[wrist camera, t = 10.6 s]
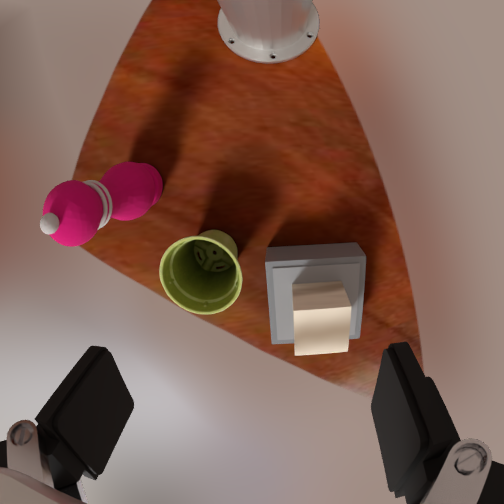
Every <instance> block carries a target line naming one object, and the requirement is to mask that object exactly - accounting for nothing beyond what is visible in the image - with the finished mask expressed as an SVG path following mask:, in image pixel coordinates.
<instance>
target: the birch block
mask: <svg viewBox="0 0 504 504" xmlns="http://www.w3.org/2000/svg"><path fill="white" fill-rule="evenodd" d="M292 298H293V321H294V343H295V356H296V355H312V354H325V353H337V352H347V351H348V343H349V332H350V320H351V304H350V301H349V299H348V296H347V294H346V291H345V289H344V286H343V284H342V281H333V282H319V283H305V284H292Z"/></svg>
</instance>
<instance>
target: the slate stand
mask: <svg viewBox="0 0 504 504" xmlns="http://www.w3.org/2000/svg"><path fill="white" fill-rule="evenodd" d="M265 266H266V278H267V290H268V302H269V314H270V327H271V339H272V344H286V343H294V321H293V298H292V284H305V283H319V282H333V281H342V284H343V286H344V289H345V291H346V294H347V296H348V299H349V301H350V304H351V320H350V332H349V339H355V338H359V337H360V329H361V320H362V310H363V299H364V286H365V270H366V255H365V253H364V252H363V251H362V249H361V248H360V246H359V245H358V244H357V242H352V243H334V244H317V245H300V246H283V247H267V252H266V259H265Z"/></svg>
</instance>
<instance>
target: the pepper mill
mask: <svg viewBox="0 0 504 504" xmlns="http://www.w3.org/2000/svg"><path fill="white" fill-rule="evenodd" d="M162 189H163V182H162V178H161V176H160V174H159V172H158V171H157V169H155V168H154V167H153V166H151V165H149V164H147V163H135V162H123V163H120V164H117V165H115V166H113V167H112V168H111V169H109V170H108V171H107V172H106V173H105V174H104V176H103V177H102V179H101V180H100V181H99V182H98V181H94V180H88V181H85V182H80V181H76V180H71V181H66V182H63V183H61V184H59V185H57V186H56V187H55V188H54V189H52V191H51V192H50V193H49V194H48V196H47V198H46V200H45V203H44V207H43V217H42V218H41V221H40V227H41V229H42V231H43V232H44V233H46V234H49V235H50V236H51V237H52V238H53V239H54V240H55V241H56V242H58V243H60V244H62V245H65V246H79V245H81V244H84V243H86V242H87V241H89V240H90V239H91V238H92V237H93V236H94V235H95V233H96V232H97V230H98V229H99V228H101V227H103V226H104V225H106V224H107V222H108V221H109V219H110V218H115V219H118V220H133V219H135V218H138V217H140V216H142V215H144V214H145V213H146V212H147V211H148V210H149V208H150V207H151V206H152V205H154V204H155V203H156V202H157V201H158V200H159V198H160V196H161V194H162Z"/></svg>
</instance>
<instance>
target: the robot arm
mask: <svg viewBox="0 0 504 504" xmlns="http://www.w3.org/2000/svg"><path fill="white" fill-rule="evenodd" d="M218 2H219V4H220V7H221V9H220V12H219V15H218V29H219V33H220V35H221V37H222V39H223V41H224V42H225V44H226V45H227V46H228V47H229V48H230V49H231V50H232V51H233V52H234V53H236V54H237V55H239V56H240V57H243V58H245V59H247V60H250V61H254V62H258V63H266V64H267V63H280V62H285V61H288V60H291V59H294V58H296V57H298V56H299V55H301V54H303V53H304V52H305V51H306V50H308V49H309V48H310V46H311V45H312V44H313V43H314V41H315V39H316V37H317V34H318V31H319V23H320V21H319V15H318V12H317V10H316V7H315V6H314V4H313V3H312V0H218ZM307 36H311V38H308V37H307ZM231 42H234V43H233V44H231ZM272 56H275V59H272V58H271V57H272ZM133 408H134V402H133V399H132V397H131V395H130V393H129V391H128V389H127V387H126V385H125V383H124V381H123V378H122V376H121V374H120V372H119V370H118V367H117V365H116V363H115V361H114V358H113V356H112V354H111V353H110V352H109V351H108V349H107V348H106V347H99V346H90V347H89V349H88V350H87V351H86V352H85V353H84V355H83V356H82V357H81V358H80V360H79V361H78V362H77V363H76V365H75V366H74V367H73V369H72V370H71V371H70V372H69V374H68V375H67V376H66V378H65V379H64V380H63V381H62V383H61V384H60V385H59V387H58V388H57V389H56V391H55V392H54V393H53V395H52V396H51V397H50V399H49V400H48V401H47V403H46V404H45V405H44V407H43V408H42V409H41V411H40V412H39V414H38V415H37V416H36V418H35V420H36V421H37V422H38V425H37V426H35V424H34V423H33V422H31V421H30V420H21V421H18V422H16V423H15V424H14V425H12V427H11V428H10V429H9V431H8V433H7V440H4V441H1V442H0V504H89V503H88V500H87V498H86V494H85V491H84V488H83V485H82V481H81V476H82V474H83V475H84V476H86V477H88V478H91V479H93V480H96V479H97V477H98V475H100V474H102V473H103V471H104V469H105V466H106V464H107V462H108V460H109V458H110V456H111V454H112V452H113V450H114V448H115V445H116V443H117V441H118V439H119V437H120V435H121V433H122V431H123V429H124V427H125V425H126V423H127V420H128V419H129V417H130V415H131V413H132V411H133ZM371 410H372V415H373V419H374V423H375V428H376V432H377V436H378V440H379V445H380V449H381V454H382V459H383V463H384V468H385V473H386V478H387V483H388V488H389V490H390V492H393V491H394V492H395V497H396V498H398V497H401V496H405V498H406V503H407V504H504V465H503V464H500V463H497V462H495V461H492V455H491V451H490V449H489V447H488V446H487V445H486V444H485V443H484V442H482V441H480V440H478V439H464V440H462V441H461V440H460V438H459V435H458V433H457V431H456V429H455V426H454V424H453V422H452V419H451V417H450V415H449V413H448V410H447V408H446V406H445V404H444V402H443V400H442V398H441V396H440V394H439V391H438V390H437V388H436V385H435V383H434V381H433V380H432V379H431V378H430V377H425V375H424V373H423V371H422V369H421V367H420V365H419V363H418V361H417V359H416V357H415V355H414V353H413V351H412V350H411V348H410V346H409V344H408V343H407V342H400V343H393V344H390V345H389V347H388V349H384V351H383V355H382V360H381V365H380V369H379V374H378V378H377V383H376V387H375V391H374V395H373V399H372V403H371Z"/></svg>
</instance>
